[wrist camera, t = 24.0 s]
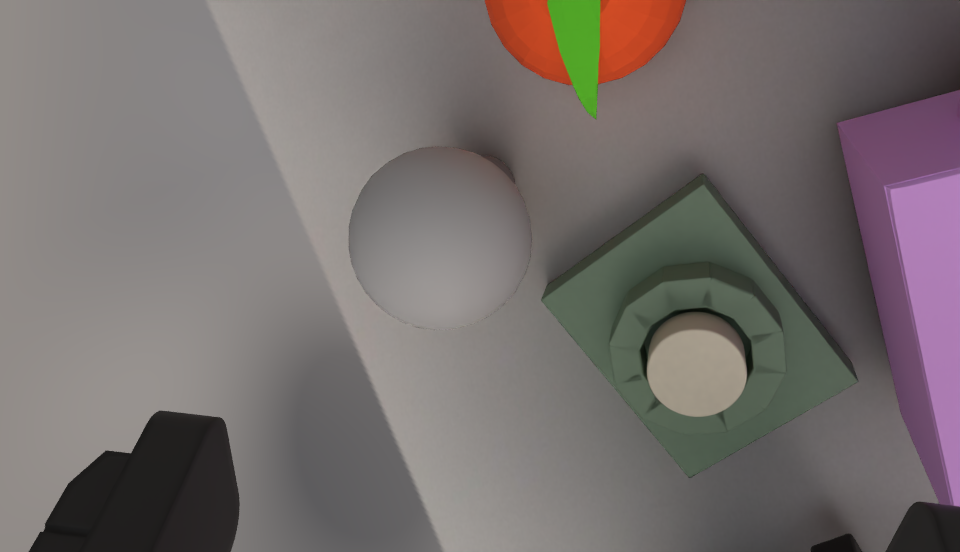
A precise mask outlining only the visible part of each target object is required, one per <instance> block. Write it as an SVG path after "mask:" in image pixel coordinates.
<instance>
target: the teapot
mask: <svg viewBox="0 0 960 552" xmlns="http://www.w3.org/2000/svg"><path fill="white" fill-rule="evenodd" d="M837 127H838V131H839V136H840V140H841V145H842V150H843V154H844V159H845V163H846V168H847V173H848V177H849V182H850V186H851V191H852V195H853V200H854V205H855V209H856V214H857V218H858V223H859V227H860V232H861V236H862V241H863V246H864V250H865V255H866V259H867V264H868V268H869V273H870V277H871V282H872V286H873V291H874V295H875V300H876V304H877V309H878V313H879V318H880V322H881V327H882V331H883V336H884V340H885V345H886V349H887V354H888V358H889V363H890V367H891V371H892V376H893V380H894V385H895V389H896V394H897V398H898V403H899V407H900V412H901V415H902V417H903V419H904V422H905V424H906V426H907V429H908V431H909V433H910V436H911V438H912V440H913V443H914V445H915V447H916V450H917V452H918V454H919V457H920V459H921V461H922V464H923V466H924V468H925V471H926V473H927V475H928V477H929V480H930V482H931V484H932V487H933V489H934V491H935V494H936V496H937V498H938V501H939V503H940V504H944V505H952V506H960V90H957V91H954V92H950V93H946V94H943V95H939V96H935V97H931V98H928V99H924V100H920V101H916V102H913V103H909V104H905V105H901V106H898V107H894V108H890V109H886V110H883V111H879V112H875V113H872V114H868V115H864V116H861V117H857V118H853V119H849V120H846V121H842V122H838V123H837Z"/></svg>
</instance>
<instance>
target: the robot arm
mask: <svg viewBox="0 0 960 552" xmlns="http://www.w3.org/2000/svg"><path fill="white" fill-rule="evenodd" d="M238 519H239V493H238V487H237V482H236V476H235V471H234V466H233V460H232V455H231V449H230V444H229V438H228V433H227V428H226V424H225V422H224V420H223V419H222V418H220V417H211V416H202V415H194V414H186V413H177V412H169V411H158V412H156V413H155V414H154V415H153V416H152V417H151V418H150V420H149V421H148V423H147V425H146V427H145V428H144V430H143V432H142V434H141V436H140V438H139V440H138V442H137V443H136V445H135V447H134V449H133V451H132V453H122V452H114V451H105V452H104V453H103V454H102V455H101V456H99V457H98V458H97V459H96V460H95V461H94V462H92V463H91V464H90V465H89V466H88V467H87V468H86V469H84V470H83V471H82V472H81V473H80V474H79V475H78V476H76V477H75V478H74V479H73V480H72V481H71V482H70V483H69V484H68V485H67V487H66V489H65V490H64V492H63V494H62V496H61V497H60V499H59V501H58V502H57V504H56V506H55V508H54V509H53V511H52V513H51V514H50V516H49V518H48V520H47V522H46V523H45V530H44V531H43V532H40V533H39V535H38V537H37V539H36V540H35V542H34V544H33V545H32V547H31V549H30V551H29V552H230V551H231V549H232V545H233V542H234V539H235V535H236V531H237V525H238ZM886 552H960V506H952V505H944V504H935V503H927V502H916V503H914V504H913V505H912V506H911V507H910V508H909V509H908V511H907V513H906V515H905V517H904V518H903V520H902V522H901V524H900V526H899V528H898V530H897V531H896V533H895V535H894V537H893V539H892V541H891V543H890V544H889V546H888V548H887V550H886Z"/></svg>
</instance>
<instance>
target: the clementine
mask: <svg viewBox="0 0 960 552" xmlns="http://www.w3.org/2000/svg"><path fill="white" fill-rule="evenodd" d="M485 3H486V7H487V10H488V14H489V18H490V21H491V25H492V26H493V28H494V30H495V32H496V33H497V35H498V37H499V39H500V40H501V42H502V44H503V46H504V47H505V48H506V49H507V50H508V51H509V52H510V53H511V54H512V55H513V56H514V57H515V58H516V59H517V60H518V61H519V62H520V63H521V64H522V65H523V66H524V67H526V68H528V69H530V70H531V71H533V72H535V73H536V74H538V75H540V76H541V77H543V78H546V79H549V80H553V81H556V82H560V83H564V84H567V85H573V86H574V89H575V91H576V93H577V95H578V98H579V100H580V101H581V103H582V104H583V106H584V108H585V109H586V111H587V112H588V113H589V114H590V115H591V116H592V117H594V118H595V119H596V112H597V92H598V84H601V83H604V82H608V81H612V80H616V79H619V78H623V77H624V76H626V75H628V74H630V73H631V72H633V71H635V70H637V69H638V68H640V67H642V66H644V65H645V64H646V63H647V62H648V61H650V60H651V59H652V58H653V57H654V56H655V55H656V54H657V53H658V52H659V51H660V50H661V49H662V48H663V47H664V46H665V45H666V43H667V41H668V40H669V38H670V36H671V35H672V33H673V32H674V30H675V28H676V27H677V25H678V23H679V22H680V19H681V15H682V12H683V9H684V6H685V3H686V0H485Z"/></svg>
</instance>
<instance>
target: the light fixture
mask: <svg viewBox="0 0 960 552" xmlns="http://www.w3.org/2000/svg"><path fill="white" fill-rule="evenodd" d="M811 552H862V551H861V549H860V547H859V545H858V544H857V542H856V540H855V539H854V537H853V536H852V535H851V534H845V535H842V536H840V537H837V538H834V539H831V540H828V541H826V542H823V543H820V544H817V545H814V546H812V547H811Z"/></svg>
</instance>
